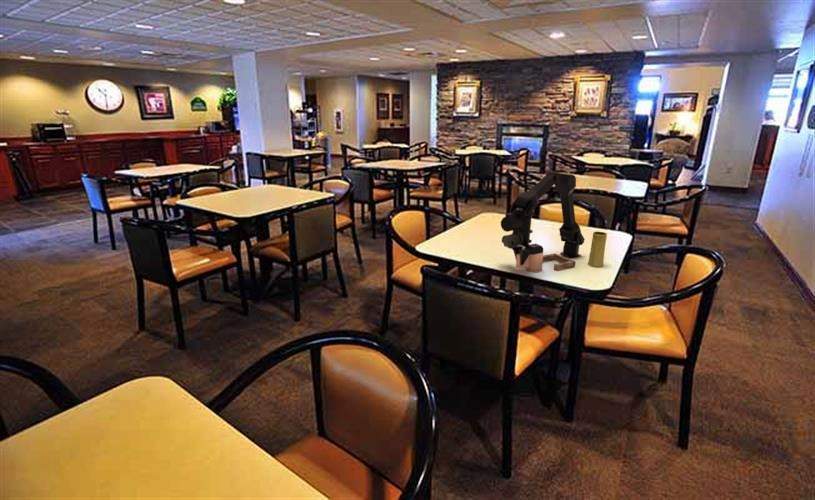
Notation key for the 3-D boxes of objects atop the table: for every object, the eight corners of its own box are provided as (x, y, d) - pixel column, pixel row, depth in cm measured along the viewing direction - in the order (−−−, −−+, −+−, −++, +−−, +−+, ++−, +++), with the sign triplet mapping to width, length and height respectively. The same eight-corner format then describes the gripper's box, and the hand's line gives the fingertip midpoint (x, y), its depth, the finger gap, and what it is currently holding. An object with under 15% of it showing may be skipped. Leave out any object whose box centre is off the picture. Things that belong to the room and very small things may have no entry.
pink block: (534, 264, 186) (535, 244, 183) (545, 269, 180) (547, 249, 177) (511, 270, 181) (512, 250, 178) (523, 275, 175) (524, 255, 172)
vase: (604, 267, 183) (609, 235, 178) (589, 266, 184) (593, 234, 180) (601, 263, 189) (606, 231, 184) (586, 262, 190) (590, 230, 185)
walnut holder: (554, 258, 194) (554, 253, 193) (574, 267, 184) (575, 261, 183) (536, 262, 190) (536, 256, 189) (556, 271, 179) (556, 265, 179)
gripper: (492, 224, 177) (490, 260, 182) (523, 236, 161) (519, 275, 166) (513, 221, 181) (511, 256, 186) (545, 232, 166) (541, 270, 171)
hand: (520, 264), depth 177 cm, fingers closed on pink block
